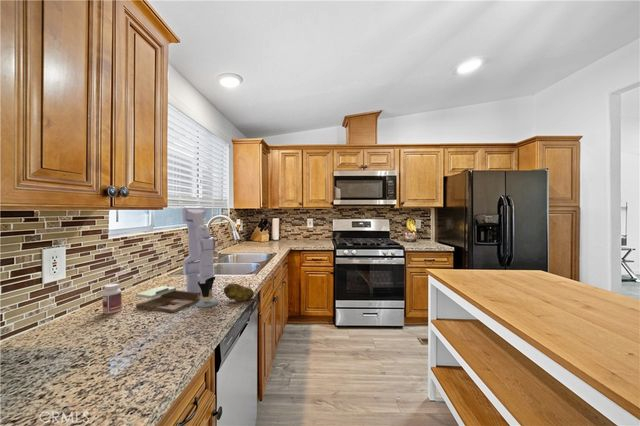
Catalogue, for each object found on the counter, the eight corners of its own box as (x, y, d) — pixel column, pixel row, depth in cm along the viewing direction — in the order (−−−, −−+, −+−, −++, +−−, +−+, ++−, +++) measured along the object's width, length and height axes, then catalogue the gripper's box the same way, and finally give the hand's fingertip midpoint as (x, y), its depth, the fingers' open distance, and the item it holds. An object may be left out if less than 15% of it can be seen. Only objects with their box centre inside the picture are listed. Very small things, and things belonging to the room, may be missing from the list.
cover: (161, 288, 126) (161, 283, 126) (176, 290, 123) (175, 285, 123) (136, 296, 114) (136, 291, 114) (151, 298, 111) (151, 293, 111)
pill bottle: (124, 307, 113) (123, 282, 113) (118, 313, 107) (117, 286, 107) (107, 309, 111) (106, 283, 111) (99, 315, 105) (99, 288, 105)
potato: (250, 303, 117) (250, 285, 117) (221, 304, 116) (221, 286, 116) (254, 297, 125) (254, 280, 125) (227, 297, 125) (227, 281, 124)
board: (164, 296, 127) (164, 287, 127) (199, 301, 120) (198, 292, 120) (136, 307, 113) (136, 297, 113) (173, 312, 107) (173, 302, 107)
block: (203, 298, 118) (203, 289, 118) (212, 297, 119) (212, 289, 119) (200, 301, 114) (200, 292, 114) (210, 300, 115) (210, 291, 115)
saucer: (206, 299, 122) (206, 297, 122) (222, 301, 119) (222, 299, 119) (191, 306, 114) (191, 304, 114) (208, 308, 111) (208, 306, 111)
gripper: (201, 262, 123) (202, 290, 123) (191, 269, 109) (192, 301, 109) (217, 261, 124) (217, 289, 124) (209, 268, 110) (210, 300, 110)
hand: (207, 295), depth 116 cm, fingers closed on block, 4 cm apart
